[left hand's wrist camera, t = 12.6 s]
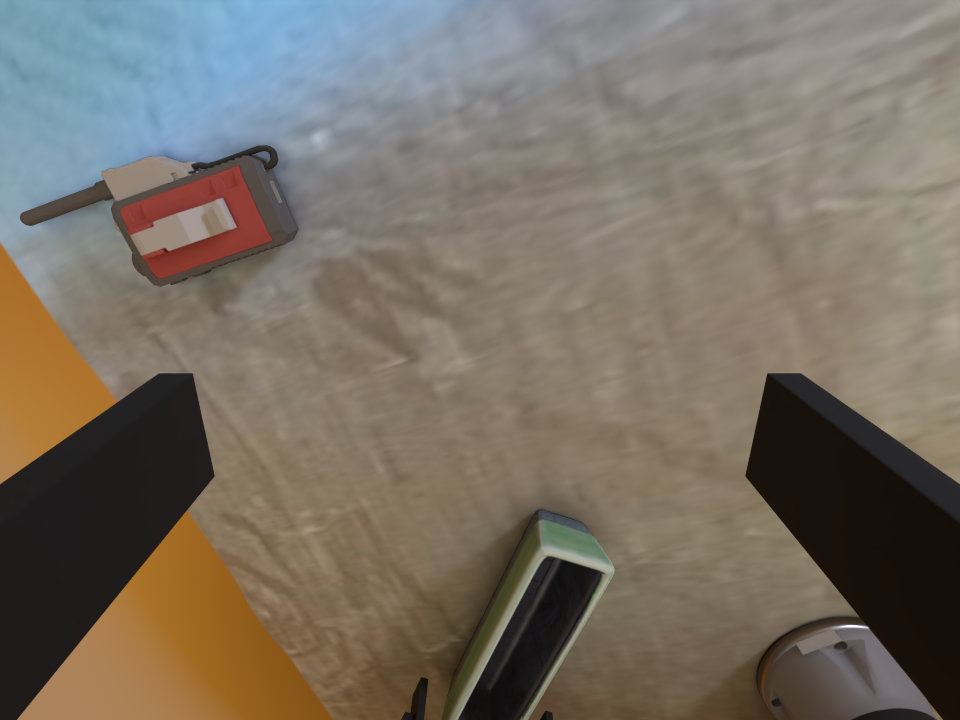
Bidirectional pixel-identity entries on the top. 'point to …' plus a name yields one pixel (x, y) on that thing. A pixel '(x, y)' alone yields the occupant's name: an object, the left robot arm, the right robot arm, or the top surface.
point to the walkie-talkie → (188, 212)
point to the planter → (530, 621)
